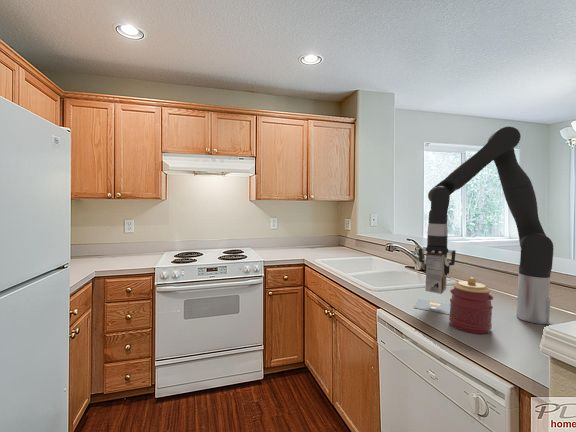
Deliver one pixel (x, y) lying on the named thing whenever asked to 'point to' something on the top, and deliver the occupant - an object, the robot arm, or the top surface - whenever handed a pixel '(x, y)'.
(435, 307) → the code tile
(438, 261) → the coffee box
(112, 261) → the top surface
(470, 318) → the canister
